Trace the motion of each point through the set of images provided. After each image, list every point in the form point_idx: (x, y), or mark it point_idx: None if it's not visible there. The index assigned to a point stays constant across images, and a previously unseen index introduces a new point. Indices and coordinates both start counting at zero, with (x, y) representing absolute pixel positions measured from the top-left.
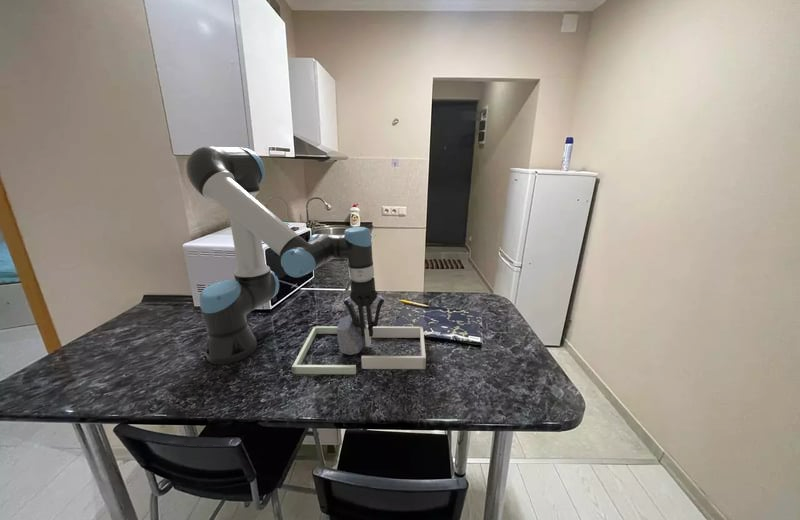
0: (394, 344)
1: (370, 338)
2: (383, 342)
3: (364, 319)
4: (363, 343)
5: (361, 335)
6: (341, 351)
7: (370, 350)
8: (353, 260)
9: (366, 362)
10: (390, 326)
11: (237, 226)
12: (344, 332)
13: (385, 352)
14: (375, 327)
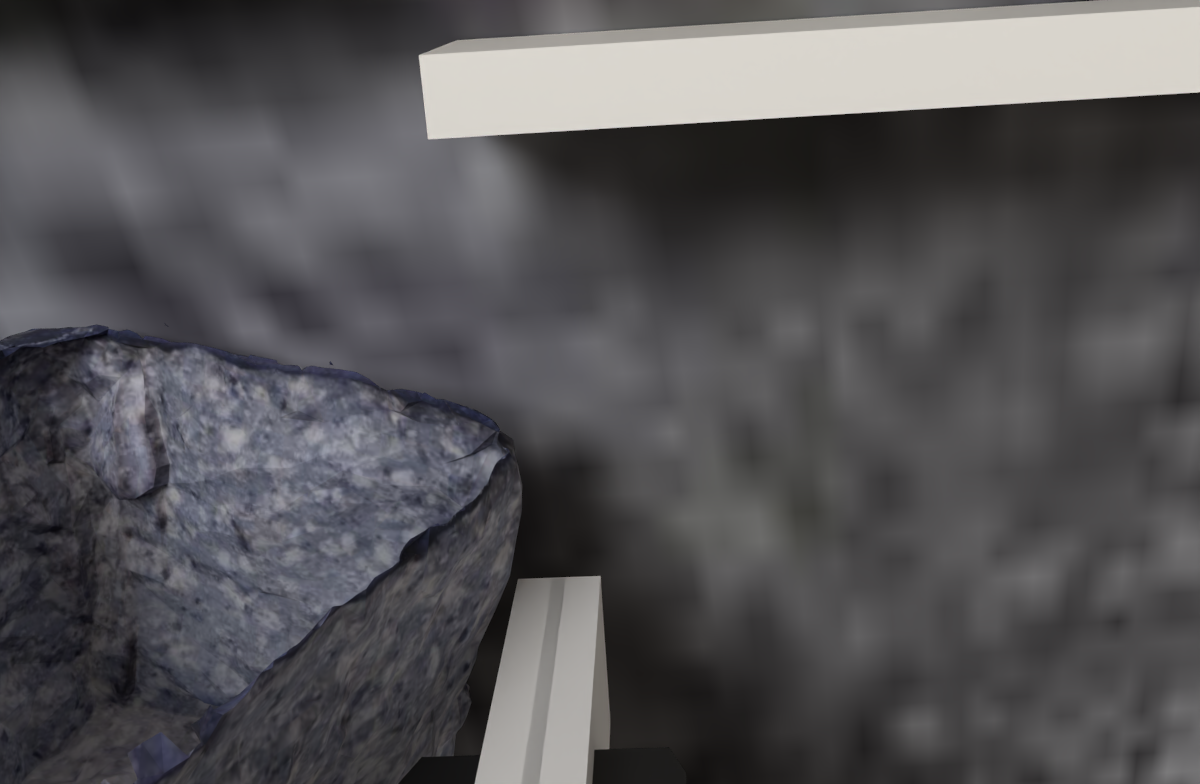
0: (1045, 319)
1: (597, 631)
2: (816, 265)
3: None
4: (462, 683)
5: (389, 761)
6: (91, 731)
7: (591, 529)
8: None
9: None
10: (1080, 18)
11: None
12: None
13: (871, 565)
14: (639, 101)
